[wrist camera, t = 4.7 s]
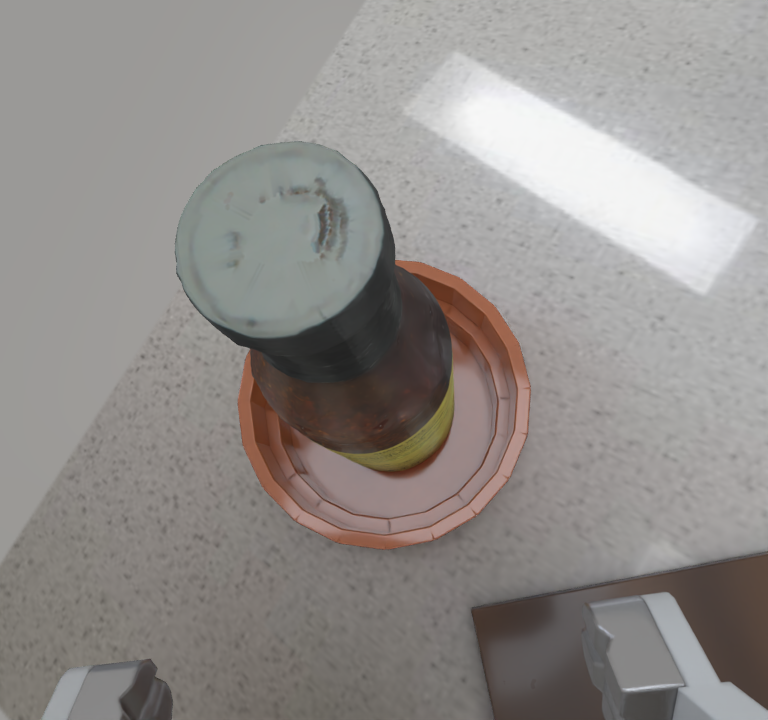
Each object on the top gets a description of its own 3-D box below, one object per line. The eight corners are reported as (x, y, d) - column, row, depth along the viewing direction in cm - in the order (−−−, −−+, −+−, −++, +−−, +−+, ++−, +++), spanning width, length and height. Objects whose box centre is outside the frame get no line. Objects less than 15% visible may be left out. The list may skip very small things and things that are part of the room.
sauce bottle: (474, 388, 29) (549, 172, 10) (415, 497, 28) (371, 488, 9) (365, 331, 30) (244, 41, 11) (304, 432, 29) (59, 303, 10)
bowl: (288, 562, 28) (258, 575, 23) (255, 323, 32) (223, 291, 27) (542, 513, 28) (564, 515, 23) (482, 275, 31) (491, 233, 26)
